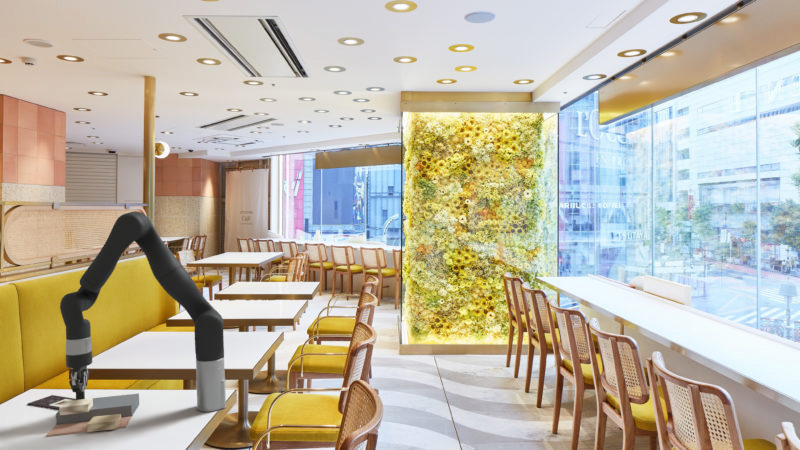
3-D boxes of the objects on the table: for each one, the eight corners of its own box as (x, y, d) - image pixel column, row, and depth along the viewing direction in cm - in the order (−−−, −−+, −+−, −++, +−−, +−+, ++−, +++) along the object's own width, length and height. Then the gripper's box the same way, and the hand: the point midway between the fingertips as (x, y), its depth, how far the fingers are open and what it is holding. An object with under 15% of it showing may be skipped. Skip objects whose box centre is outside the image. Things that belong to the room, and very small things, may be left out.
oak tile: (115, 420, 161) (115, 428, 161) (121, 413, 167) (121, 421, 167) (87, 423, 159) (87, 431, 159) (93, 416, 165) (93, 424, 165)
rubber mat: (131, 417, 171) (131, 416, 171) (125, 427, 164) (125, 425, 163) (55, 426, 165) (55, 424, 165) (46, 436, 157) (46, 435, 157)
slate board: (139, 404, 183) (138, 393, 183) (131, 417, 172) (131, 405, 172) (68, 412, 177) (68, 400, 177) (56, 425, 166) (55, 413, 165)
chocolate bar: (52, 395, 193) (86, 400, 187) (52, 397, 193) (86, 403, 187) (27, 403, 185) (62, 409, 178) (27, 406, 185) (62, 412, 179)
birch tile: (93, 405, 172) (92, 398, 172) (88, 411, 166) (88, 404, 166) (65, 408, 169) (65, 401, 169) (59, 415, 164) (59, 407, 164)
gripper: (85, 355, 167) (86, 408, 167) (97, 345, 179) (98, 394, 180) (58, 357, 165) (60, 410, 165) (73, 347, 177) (74, 396, 178)
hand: (80, 402), depth 172 cm, fingers closed
